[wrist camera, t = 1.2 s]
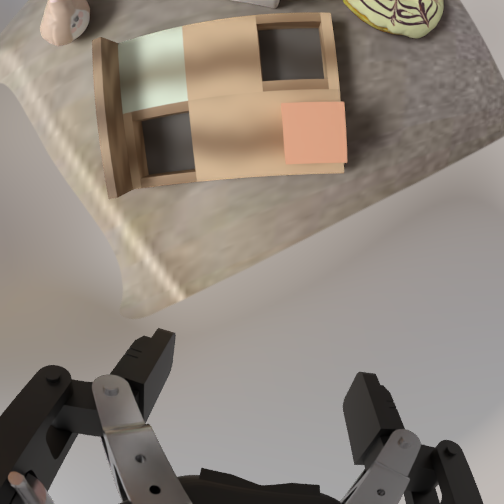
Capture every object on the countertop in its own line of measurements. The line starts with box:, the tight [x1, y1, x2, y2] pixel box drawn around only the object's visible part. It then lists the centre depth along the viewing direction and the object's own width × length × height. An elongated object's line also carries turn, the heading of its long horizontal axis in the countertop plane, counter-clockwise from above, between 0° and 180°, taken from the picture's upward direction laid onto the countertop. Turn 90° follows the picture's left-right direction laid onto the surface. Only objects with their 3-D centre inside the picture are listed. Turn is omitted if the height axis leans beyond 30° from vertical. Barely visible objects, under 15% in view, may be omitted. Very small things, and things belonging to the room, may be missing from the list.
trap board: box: [92, 13, 344, 199], centre depth 25 cm, size 16×22×6 cm
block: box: [281, 102, 347, 165], centre depth 25 cm, size 5×5×4 cm
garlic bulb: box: [40, 0, 90, 46], centre depth 21 cm, size 7×6×8 cm
